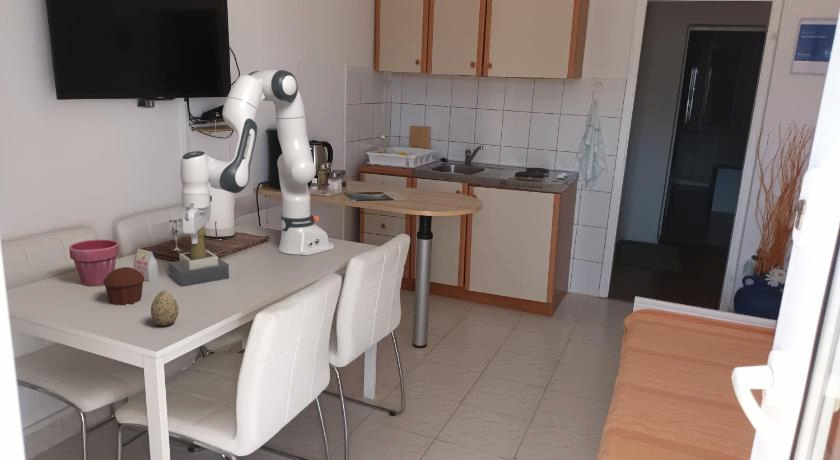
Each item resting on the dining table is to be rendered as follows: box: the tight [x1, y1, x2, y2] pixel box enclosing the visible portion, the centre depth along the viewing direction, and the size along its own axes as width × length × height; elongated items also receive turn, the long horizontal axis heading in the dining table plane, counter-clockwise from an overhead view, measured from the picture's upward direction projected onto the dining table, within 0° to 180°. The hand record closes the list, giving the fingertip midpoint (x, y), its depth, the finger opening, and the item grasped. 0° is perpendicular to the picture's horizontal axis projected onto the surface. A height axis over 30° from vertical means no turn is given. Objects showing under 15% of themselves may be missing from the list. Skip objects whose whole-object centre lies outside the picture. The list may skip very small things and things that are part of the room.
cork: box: [188, 228, 207, 260], centre depth 209 cm, size 6×6×11 cm
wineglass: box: [167, 218, 184, 250], centre depth 239 cm, size 6×6×12 cm
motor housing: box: [168, 249, 230, 287], centre depth 211 cm, size 16×12×8 cm
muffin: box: [103, 266, 145, 306], centre depth 188 cm, size 12×11×10 cm
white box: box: [133, 248, 159, 283], centre depth 207 cm, size 4×7×10 cm, turn 64°
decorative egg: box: [150, 290, 179, 327], centre depth 172 cm, size 7×7×10 cm
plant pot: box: [68, 239, 120, 287], centre depth 202 cm, size 14×14×13 cm
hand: (197, 241), depth 209 cm, fingers closed on cork, 4 cm apart
